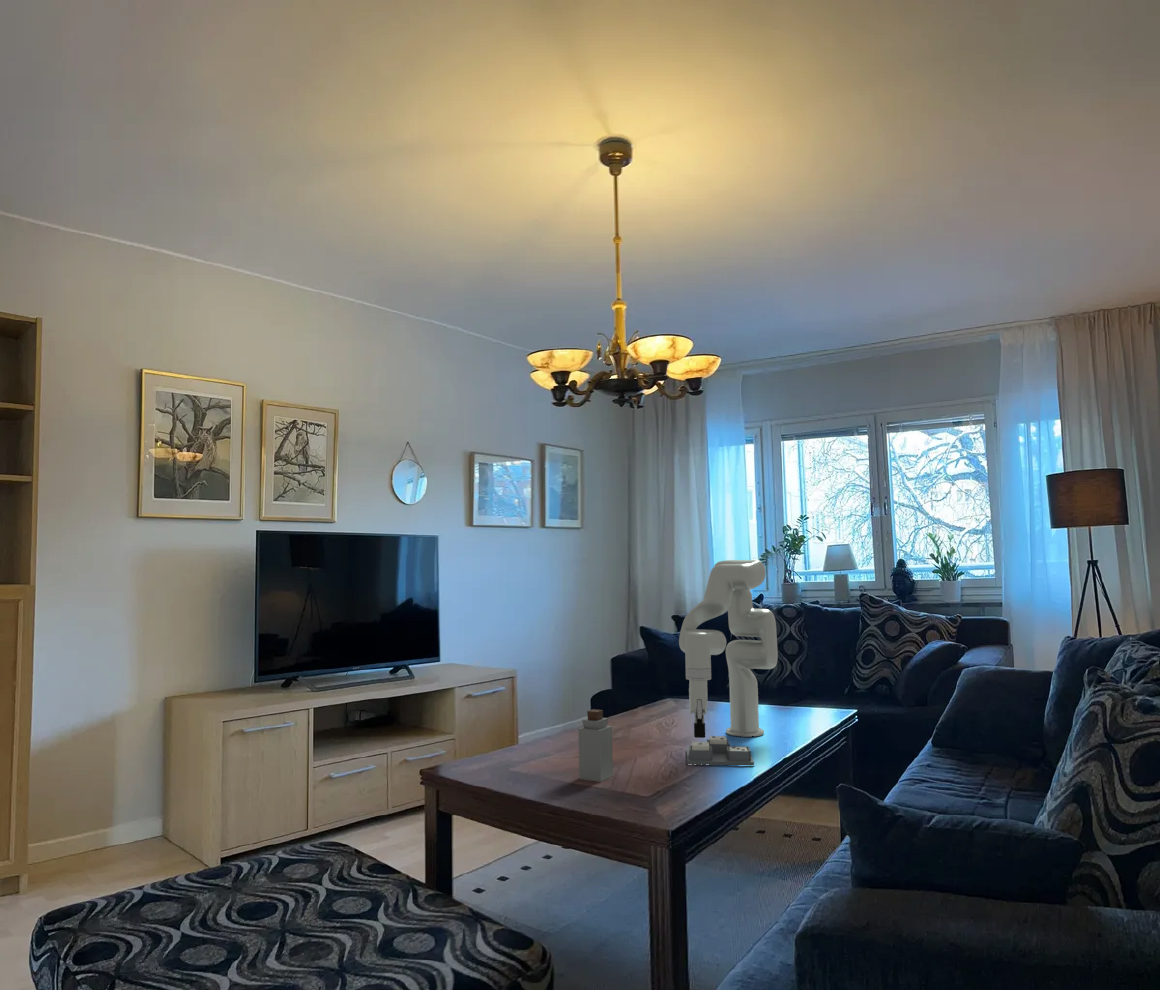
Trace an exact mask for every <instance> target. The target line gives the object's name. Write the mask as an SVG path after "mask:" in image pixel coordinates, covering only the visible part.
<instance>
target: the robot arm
mask: <svg viewBox="0 0 1160 990" xmlns="http://www.w3.org/2000/svg"><path fill="white" fill-rule="evenodd" d="M765 578H766V567H765V565H764V563H763V562H762V561H761V560H758V559H741V560H739V559H729V560H720V561H717V562H716V563H715V564H714V566H713V567H712V568H711V570H710V573H709V577H708V581H707V584H706V589H705V592H704V595H703V599H702V600H701V602H699V603H698V604H696V605H695V606H694V607H693V608H692V609H691V610H690V611H689V612H688V613H687V614H686V615H685V617H684V619H683V622H682V625H681V629H680V632H679V638H678V644H679V648H680V650H681V651H682V652H683V653H684V654H685V680H688V681H689V684H688V699H689V700H688V702H689V706H688V707H689V713H690V714H691V715H693V714H694V722H693V736H694V738H695V739H696V738H698V739H699V738H700V739H702V738H703V739H704V738H706V723H705V715H706V714H707V711H708V710H707V709H708V681H710V680H712V659H711V657H712V656H718V655H720V654H722V653H724V651H725V658H726V663H727V668H728V669H727V671H728V680H729V681H728V682H729V712H730V713H729V714H730V727H727V728H726V729H725V733H726V734H727V735H729V736H733V737H740V736H741V737H745V738H748V737H749V738H753V737H752V736H754V737H760V736H762V735H764V734H765V733H764V731H765V730H764V729H763V728H760V721H759V719H760V718H759V717H760V716H759V696H758V695H759V691H758V690H759V688H758V679H757V678H756V675H755V674H754V673H753V671H752V670H753V669H755V670H756V669H757V670H772V669H774V668H776V666H777V664H778V656H779V654H778V653H779V652H778V637H777V635H778V634H777V623H776V617H775V615H774V613H773V612H772V610H769V609H767V608H754V606H753V605H754V604H753V594H752V591H751V590H753V589H756V588H758V587H759V586H761V585H762V584H763V583H764V581H765ZM725 613H727V617H728V620H727V621H728V629H729V631H730V633H731V634H732V635H733V636H737V637H755V638H757V637H758V638H759V639H760V640H755V639H754V640H753V639H734V640H732V641H730V642H728V643H727V638H726V636H725V634H724V632H722V631H720V630H716V629H698V627H699V626H700V625H701V624H703V623H705V622H707V621H709V620H712V619H714V618H717V617H719V616H722V615H724V614H725Z"/></svg>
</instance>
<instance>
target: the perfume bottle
mask: <svg viewBox="0 0 1160 990" xmlns="http://www.w3.org/2000/svg"><path fill="white" fill-rule="evenodd" d="M586 715H587V717H585V718H583V719H581V721H582V725H583V726H582V727H578V778H579V780H583V779H584V781H590V782H592V781H593V782H598V783H602V782H604V781H606V780H608V779H610V778H612V777H613V776H614V775H613V774H614V770H613V768H614V767H613V766H614V765H613V761H614V759H613V726H612V725H608V722H609V718H608V717H603V716H604V710H603V709H595V708H593V709H590V710H587V711H586ZM611 776H612V777H611ZM609 777H610V778H609Z"/></svg>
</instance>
